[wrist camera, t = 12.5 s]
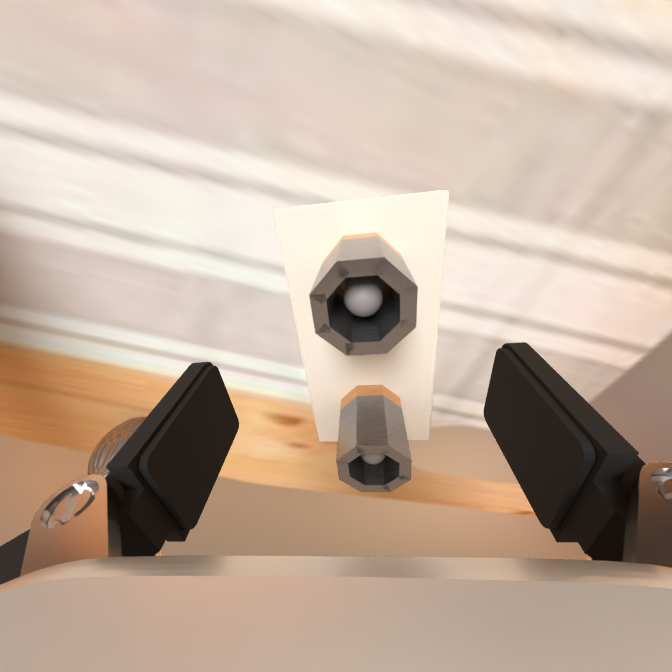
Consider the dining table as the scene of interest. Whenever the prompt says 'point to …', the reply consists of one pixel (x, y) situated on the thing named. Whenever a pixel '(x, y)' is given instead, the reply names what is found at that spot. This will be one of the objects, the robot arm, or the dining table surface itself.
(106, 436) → the vase
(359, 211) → the pin board
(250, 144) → the dining table surface
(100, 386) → the dining table surface
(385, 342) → the loose sleeve
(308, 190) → the dining table surface
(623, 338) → the dining table surface
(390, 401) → the seated sleeve
